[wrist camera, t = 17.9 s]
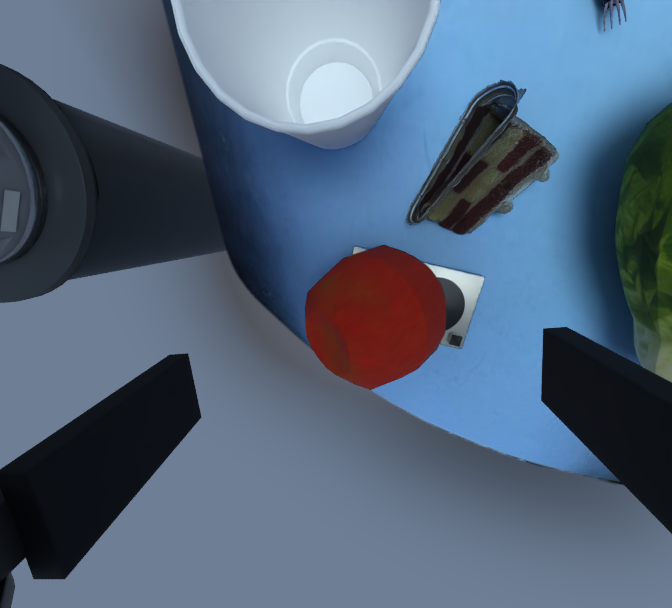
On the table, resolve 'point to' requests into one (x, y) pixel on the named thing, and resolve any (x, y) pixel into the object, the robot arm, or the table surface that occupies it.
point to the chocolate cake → (484, 163)
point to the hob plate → (455, 299)
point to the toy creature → (608, 2)
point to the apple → (376, 316)
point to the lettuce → (648, 242)
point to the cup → (306, 60)
